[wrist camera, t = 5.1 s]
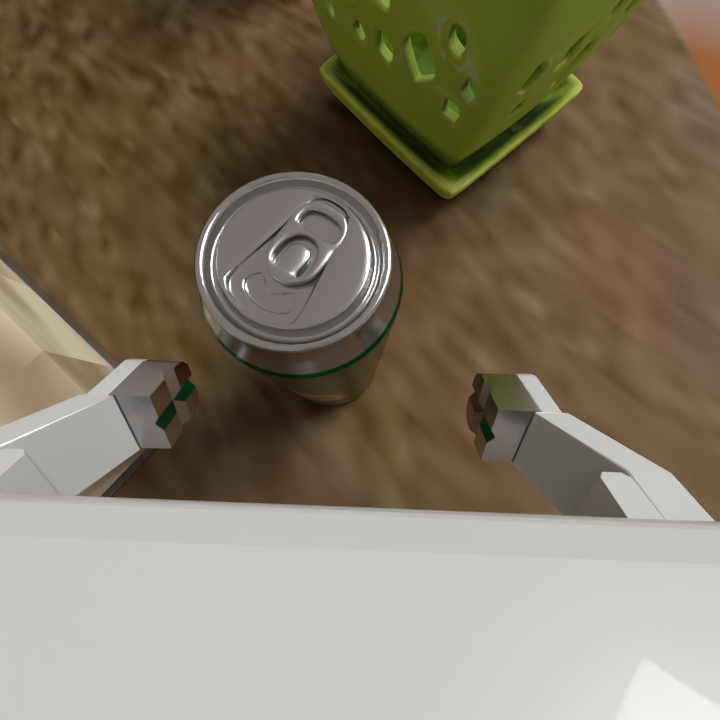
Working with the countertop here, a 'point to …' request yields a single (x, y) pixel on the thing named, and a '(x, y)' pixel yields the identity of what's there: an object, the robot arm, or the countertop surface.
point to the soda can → (300, 283)
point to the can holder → (49, 362)
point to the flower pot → (460, 74)
